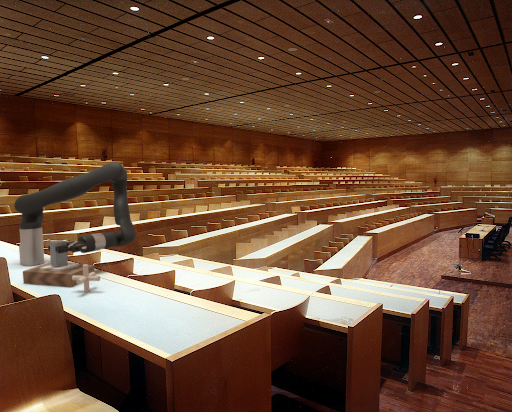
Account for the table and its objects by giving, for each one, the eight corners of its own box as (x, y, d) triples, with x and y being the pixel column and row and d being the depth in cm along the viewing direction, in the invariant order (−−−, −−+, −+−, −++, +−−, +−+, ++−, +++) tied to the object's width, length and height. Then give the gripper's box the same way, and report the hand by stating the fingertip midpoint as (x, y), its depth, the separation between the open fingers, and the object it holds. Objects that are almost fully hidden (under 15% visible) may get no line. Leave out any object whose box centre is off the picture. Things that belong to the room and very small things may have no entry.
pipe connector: (106, 287, 143) (105, 261, 142) (92, 296, 133) (91, 268, 132) (81, 286, 144) (80, 261, 143) (66, 295, 134) (64, 268, 133)
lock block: (51, 265, 152) (49, 241, 151) (62, 263, 156) (60, 239, 155) (56, 267, 149) (54, 242, 148) (67, 265, 153) (66, 241, 152)
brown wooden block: (23, 283, 149) (22, 268, 148) (50, 273, 162) (49, 260, 162) (71, 287, 144) (70, 271, 143) (94, 276, 157) (94, 262, 157)
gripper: (82, 232, 167) (43, 238, 154) (100, 236, 158) (60, 242, 145) (83, 249, 168) (45, 256, 155) (101, 253, 159) (62, 261, 146)
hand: (52, 249), depth 150 cm, fingers open, 7 cm apart
